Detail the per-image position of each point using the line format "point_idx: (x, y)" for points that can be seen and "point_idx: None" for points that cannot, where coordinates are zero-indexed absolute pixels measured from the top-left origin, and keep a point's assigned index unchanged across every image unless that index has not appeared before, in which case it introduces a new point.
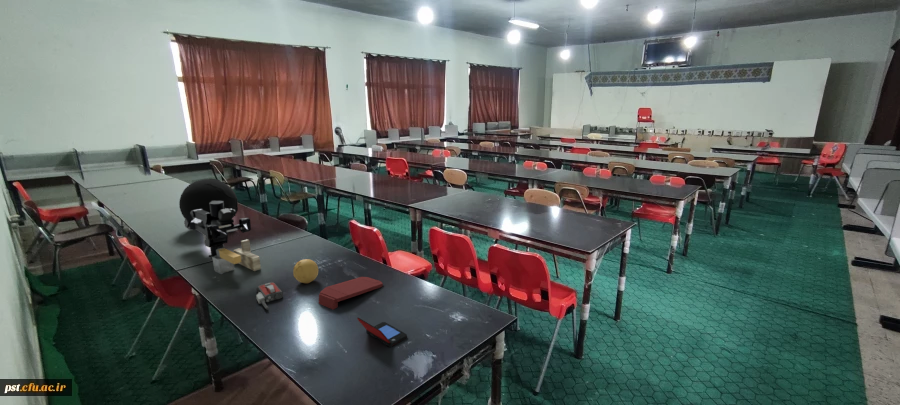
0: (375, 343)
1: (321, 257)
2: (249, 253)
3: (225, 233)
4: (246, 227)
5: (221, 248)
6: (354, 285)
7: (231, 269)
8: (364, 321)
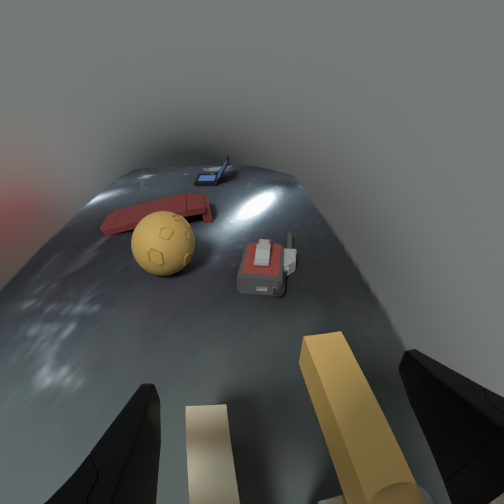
0: (224, 179)
1: (14, 351)
2: (201, 495)
3: (422, 358)
4: (124, 423)
5: None
6: (148, 210)
7: None
8: (228, 160)
